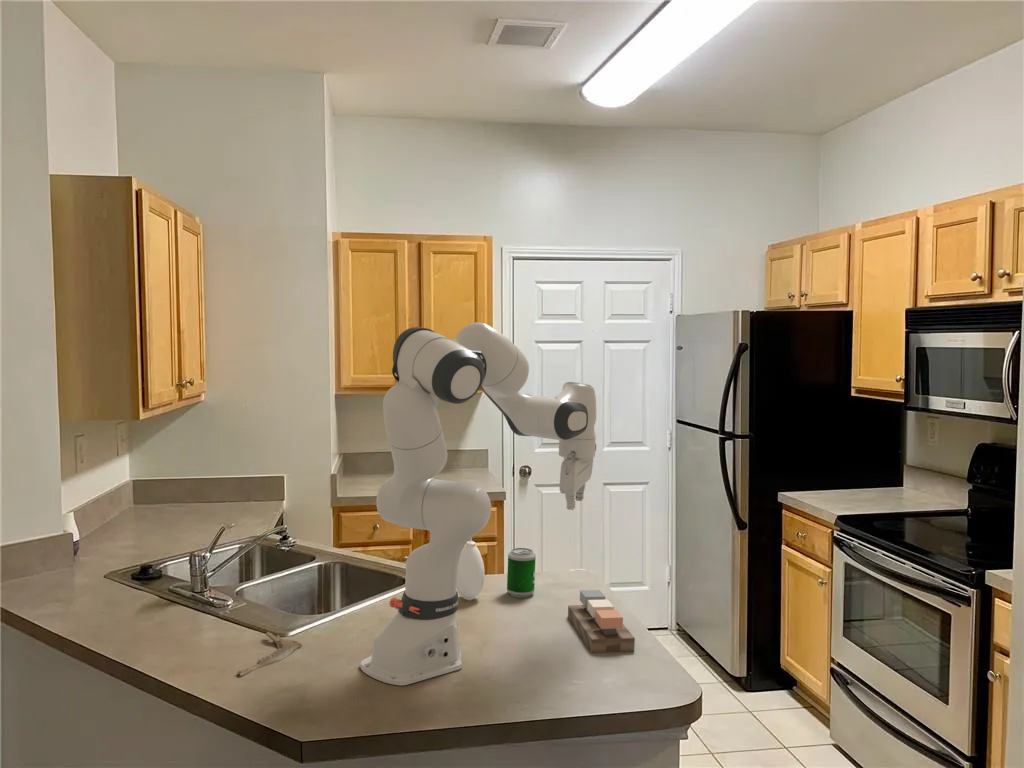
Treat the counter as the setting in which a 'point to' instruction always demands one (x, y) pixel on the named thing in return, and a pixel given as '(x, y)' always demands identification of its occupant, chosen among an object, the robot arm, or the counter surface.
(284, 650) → the jawbone
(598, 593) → the slate key
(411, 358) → the robot arm
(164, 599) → the counter surface
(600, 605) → the ivory key
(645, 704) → the counter surface
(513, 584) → the soda can
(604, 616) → the terracotta key
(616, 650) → the keypad board
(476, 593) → the sauce bottle
